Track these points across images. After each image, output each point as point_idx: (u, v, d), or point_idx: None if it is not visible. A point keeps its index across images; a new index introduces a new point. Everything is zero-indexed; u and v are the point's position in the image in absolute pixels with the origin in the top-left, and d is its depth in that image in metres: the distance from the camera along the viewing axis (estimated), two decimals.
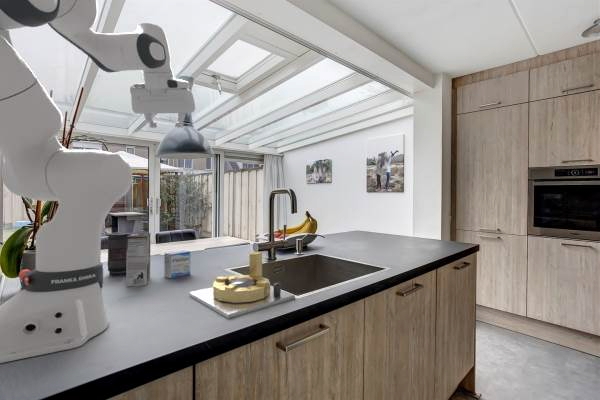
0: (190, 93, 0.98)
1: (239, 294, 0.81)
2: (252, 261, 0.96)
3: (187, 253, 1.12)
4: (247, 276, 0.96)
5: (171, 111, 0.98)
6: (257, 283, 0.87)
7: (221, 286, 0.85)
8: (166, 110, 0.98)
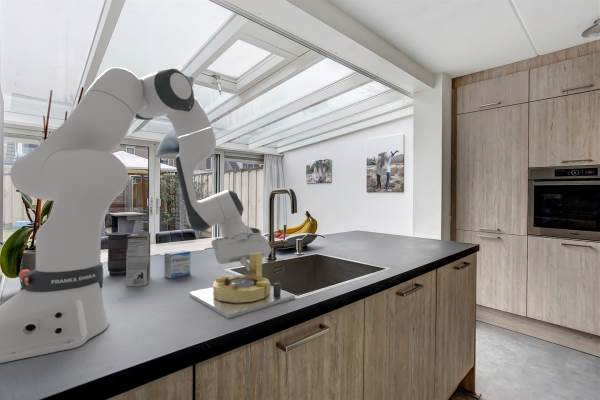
0: None
1: (239, 294, 0.81)
2: (252, 261, 0.96)
3: (187, 253, 1.12)
4: (247, 276, 0.96)
5: (256, 251, 1.05)
6: (257, 283, 0.87)
7: (221, 286, 0.85)
8: (252, 251, 1.04)
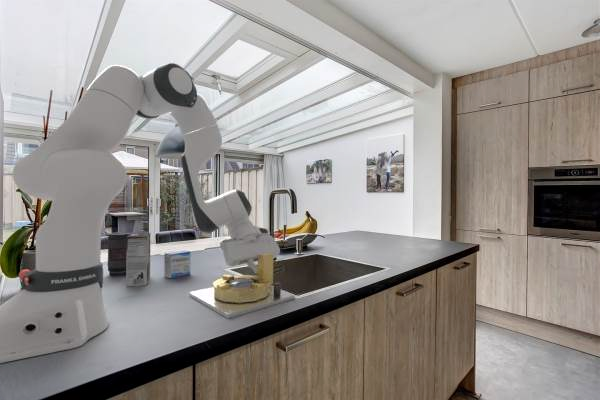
0: None
1: (227, 293, 0.82)
2: (260, 263, 0.95)
3: (187, 253, 1.12)
4: (255, 277, 0.95)
5: (265, 252, 1.02)
6: (251, 285, 0.85)
7: (218, 284, 0.87)
8: (262, 253, 1.01)
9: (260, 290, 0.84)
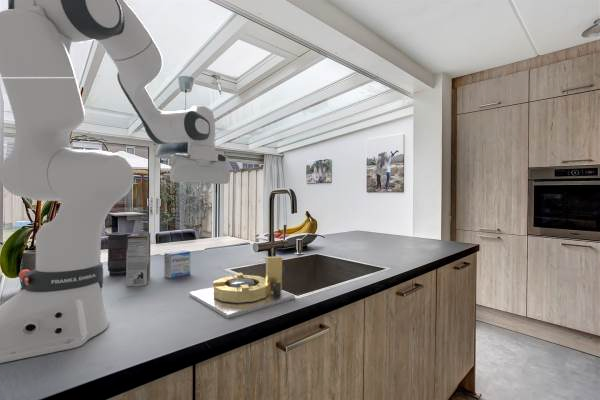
0: None
1: (215, 290, 0.84)
2: (266, 265, 0.91)
3: (187, 253, 1.12)
4: (262, 279, 0.93)
5: (212, 181, 1.05)
6: (240, 286, 0.84)
7: (221, 280, 0.91)
8: (208, 180, 1.04)
9: (244, 293, 0.82)
